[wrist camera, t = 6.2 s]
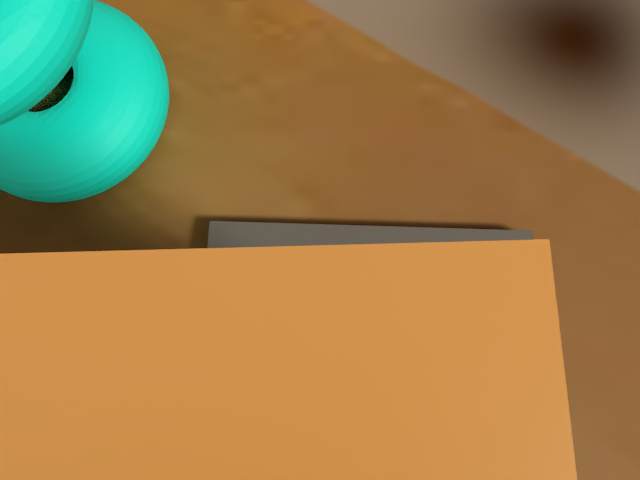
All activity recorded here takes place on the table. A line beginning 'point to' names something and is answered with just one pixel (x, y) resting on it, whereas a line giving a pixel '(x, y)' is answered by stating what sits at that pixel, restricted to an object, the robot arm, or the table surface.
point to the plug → (284, 364)
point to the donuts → (76, 98)
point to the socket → (343, 234)
